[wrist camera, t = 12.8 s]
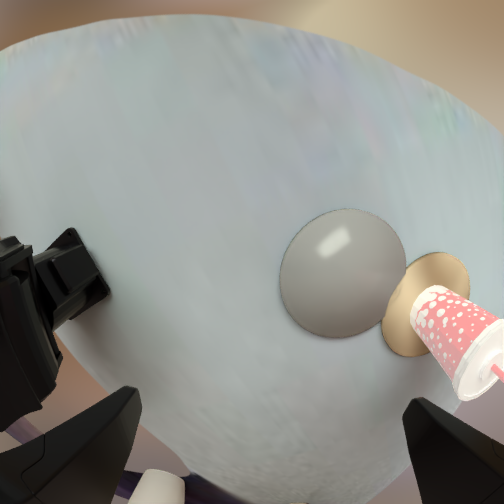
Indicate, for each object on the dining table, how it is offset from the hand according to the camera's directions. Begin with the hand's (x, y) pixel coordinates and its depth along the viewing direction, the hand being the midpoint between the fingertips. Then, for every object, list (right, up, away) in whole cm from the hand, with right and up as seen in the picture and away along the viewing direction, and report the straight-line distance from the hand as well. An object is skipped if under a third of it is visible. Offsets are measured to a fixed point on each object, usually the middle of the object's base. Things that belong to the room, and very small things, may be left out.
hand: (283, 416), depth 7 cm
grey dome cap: (+6, +3, +12) cm, 14 cm away
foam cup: (-14, -29, +21) cm, 39 cm away
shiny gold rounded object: (+15, 0, +13) cm, 20 cm away
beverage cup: (+15, 0, +13) cm, 19 cm away
